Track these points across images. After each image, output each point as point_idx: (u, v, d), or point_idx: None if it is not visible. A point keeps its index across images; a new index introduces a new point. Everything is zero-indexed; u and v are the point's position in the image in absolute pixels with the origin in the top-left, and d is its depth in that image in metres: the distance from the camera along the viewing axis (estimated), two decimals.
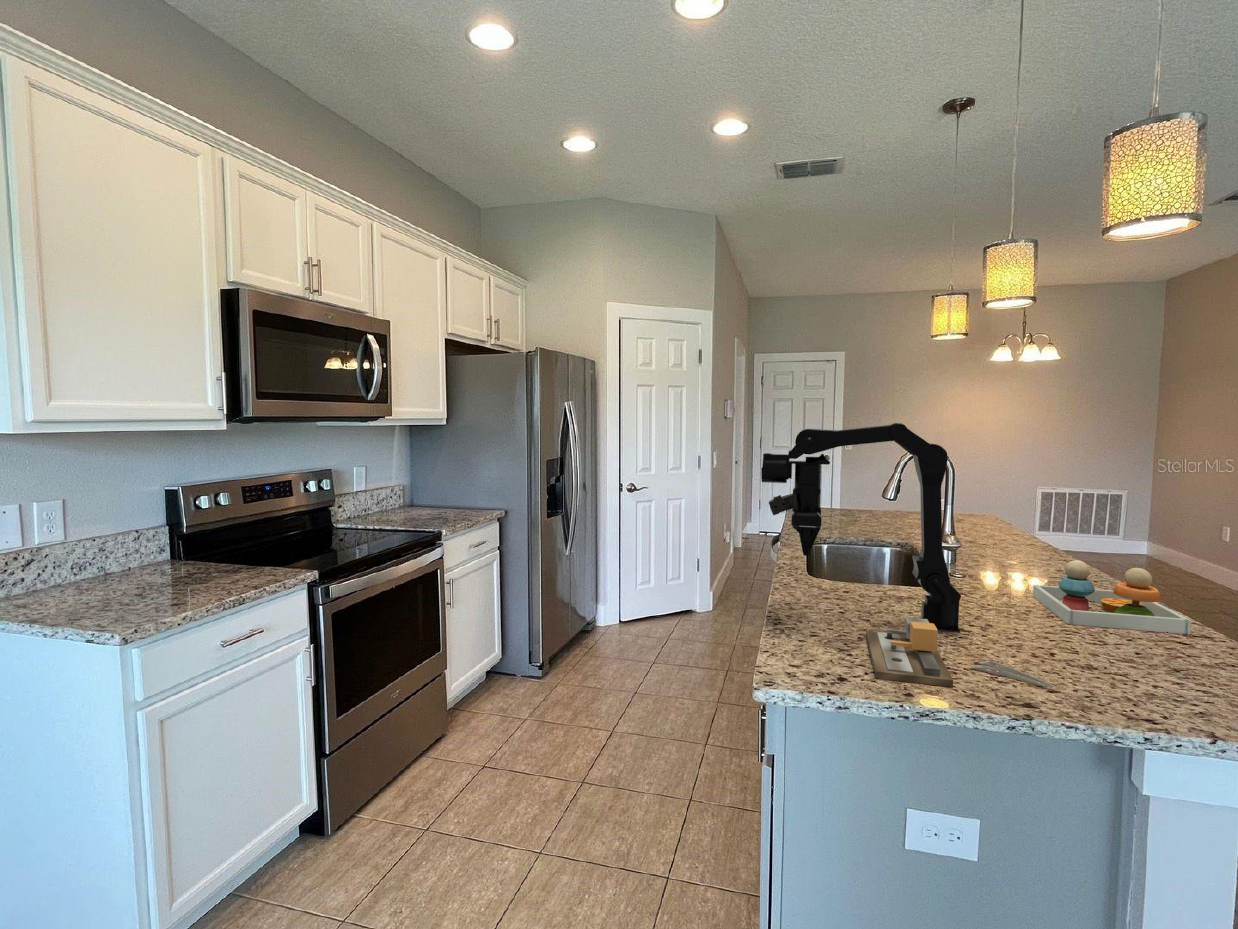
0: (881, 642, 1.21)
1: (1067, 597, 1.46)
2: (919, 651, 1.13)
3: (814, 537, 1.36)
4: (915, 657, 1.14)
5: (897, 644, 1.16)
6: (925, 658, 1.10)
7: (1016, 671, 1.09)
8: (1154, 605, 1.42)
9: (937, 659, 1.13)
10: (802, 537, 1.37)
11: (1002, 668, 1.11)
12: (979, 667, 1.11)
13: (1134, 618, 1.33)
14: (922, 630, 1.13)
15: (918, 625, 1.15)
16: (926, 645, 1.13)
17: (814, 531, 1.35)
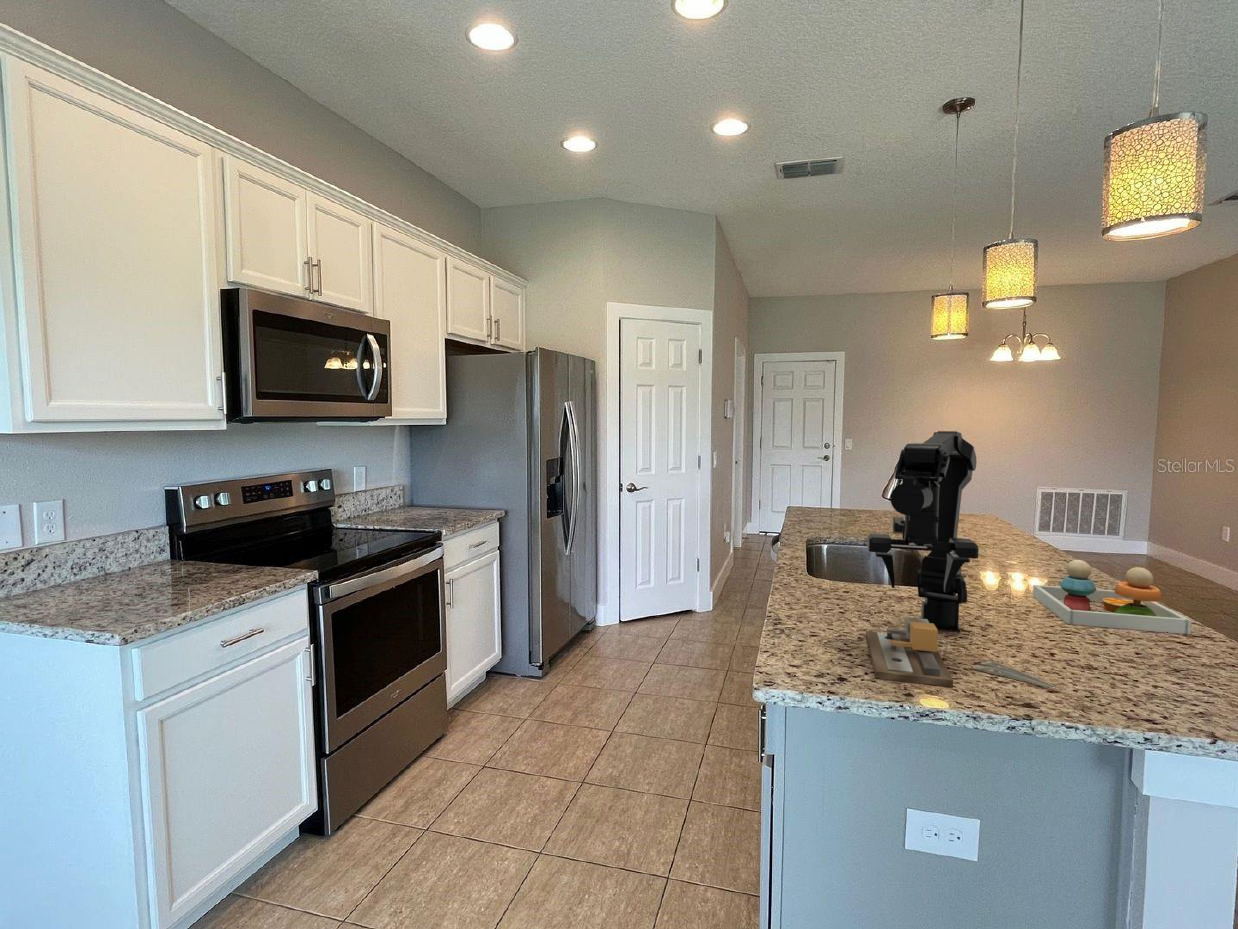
0: (881, 642, 1.21)
1: (1068, 596, 1.46)
2: (919, 651, 1.13)
3: None
4: (915, 657, 1.14)
5: (897, 644, 1.16)
6: (925, 658, 1.10)
7: (1019, 672, 1.09)
8: (1154, 605, 1.42)
9: (937, 659, 1.13)
10: None
11: (1004, 669, 1.10)
12: (981, 668, 1.10)
13: (1134, 618, 1.33)
14: (922, 630, 1.13)
15: (918, 625, 1.15)
16: (926, 645, 1.13)
17: None
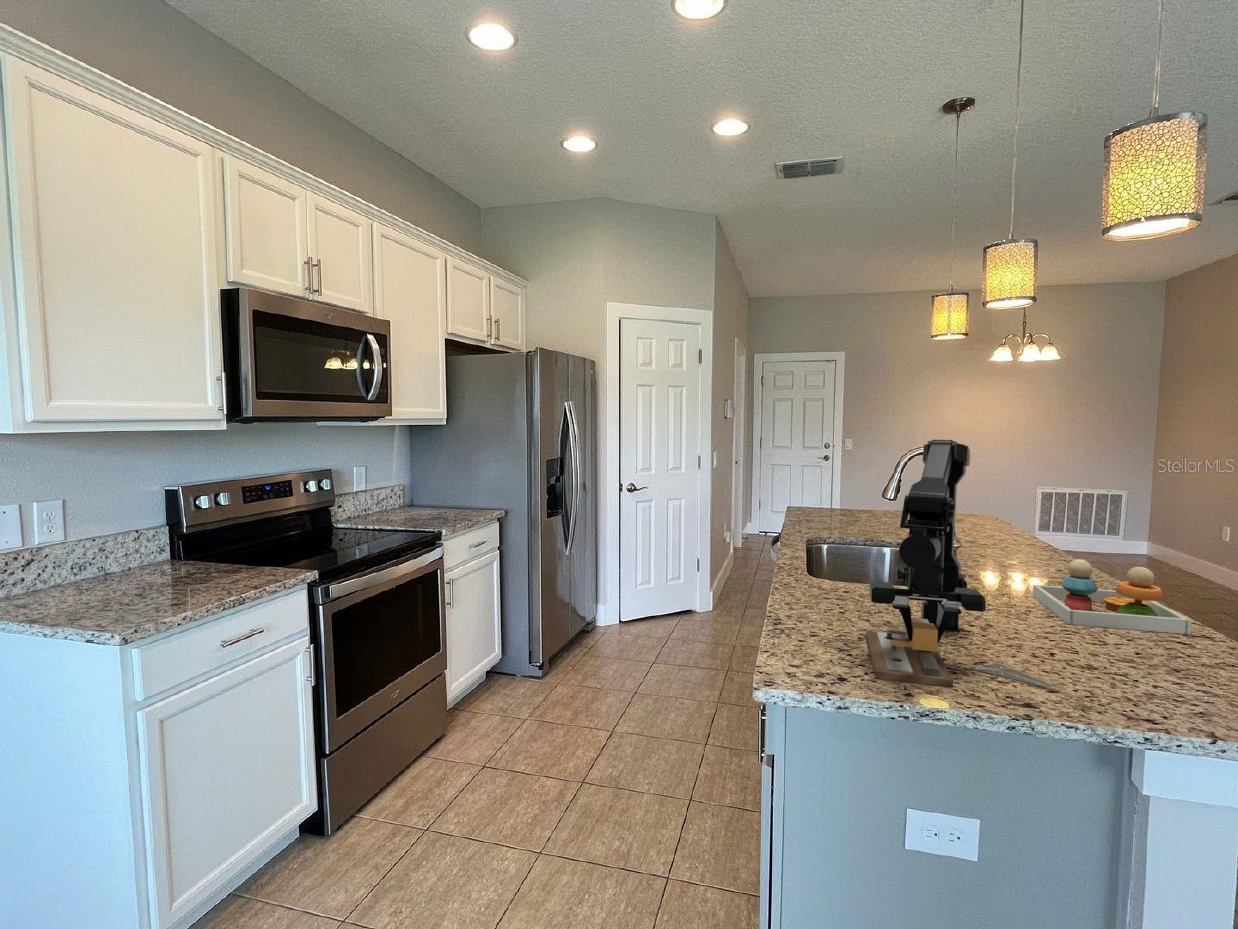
0: (881, 642, 1.21)
1: (1070, 595, 1.47)
2: (919, 651, 1.13)
3: (903, 619, 1.14)
4: (915, 657, 1.14)
5: (897, 644, 1.16)
6: (925, 658, 1.10)
7: (1021, 673, 1.08)
8: (1154, 605, 1.42)
9: (937, 659, 1.13)
10: (902, 616, 1.16)
11: (1007, 670, 1.10)
12: (983, 669, 1.10)
13: (1134, 618, 1.33)
14: (922, 630, 1.13)
15: (918, 625, 1.15)
16: (926, 645, 1.13)
17: None
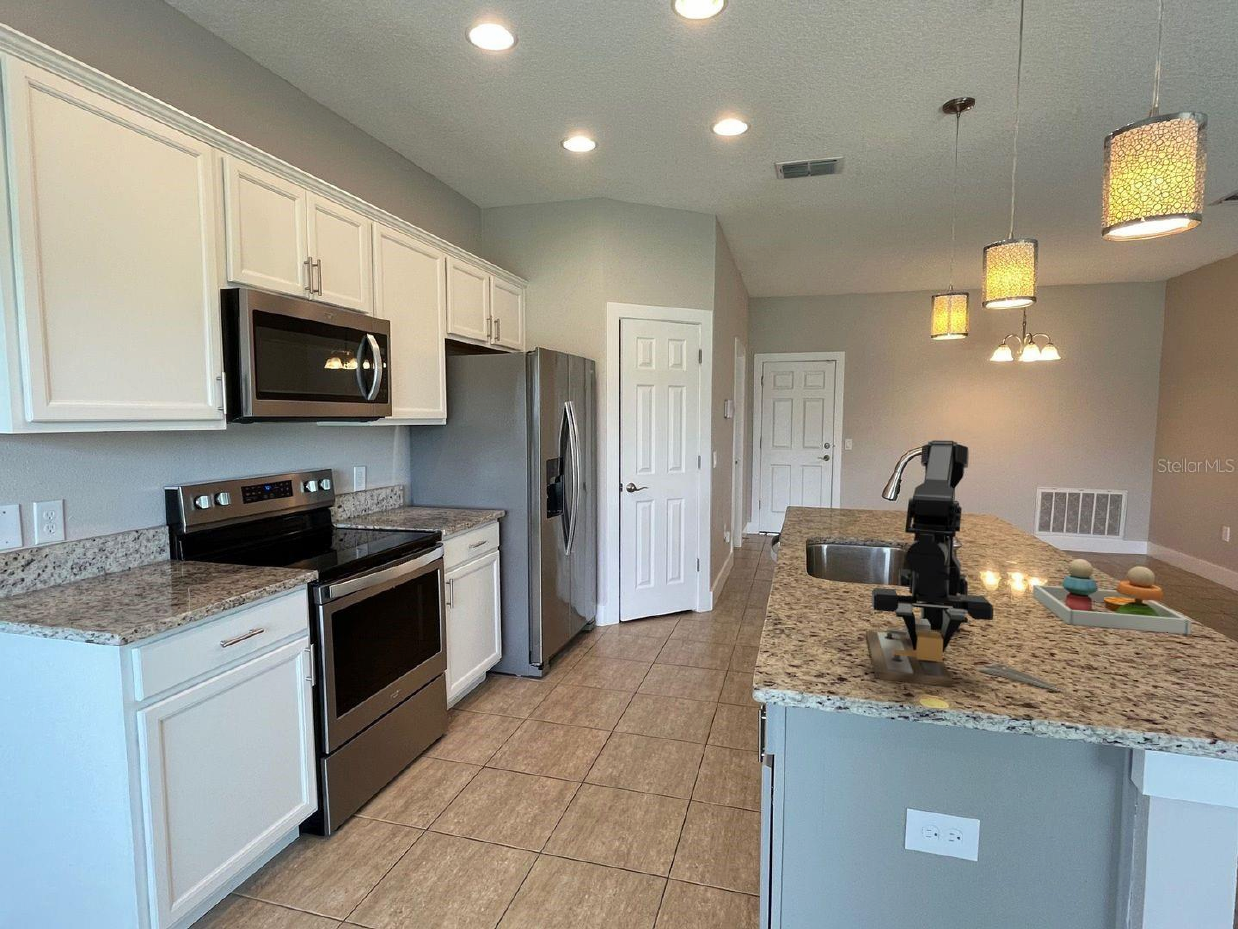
0: (881, 642, 1.21)
1: (1070, 595, 1.47)
2: None
3: (907, 627, 1.09)
4: (915, 657, 1.14)
5: (900, 653, 1.11)
6: None
7: (1024, 674, 1.08)
8: (1154, 605, 1.42)
9: None
10: None
11: (1010, 671, 1.09)
12: (986, 670, 1.09)
13: (1134, 618, 1.33)
14: (927, 639, 1.08)
15: (923, 633, 1.10)
16: (931, 654, 1.08)
17: None
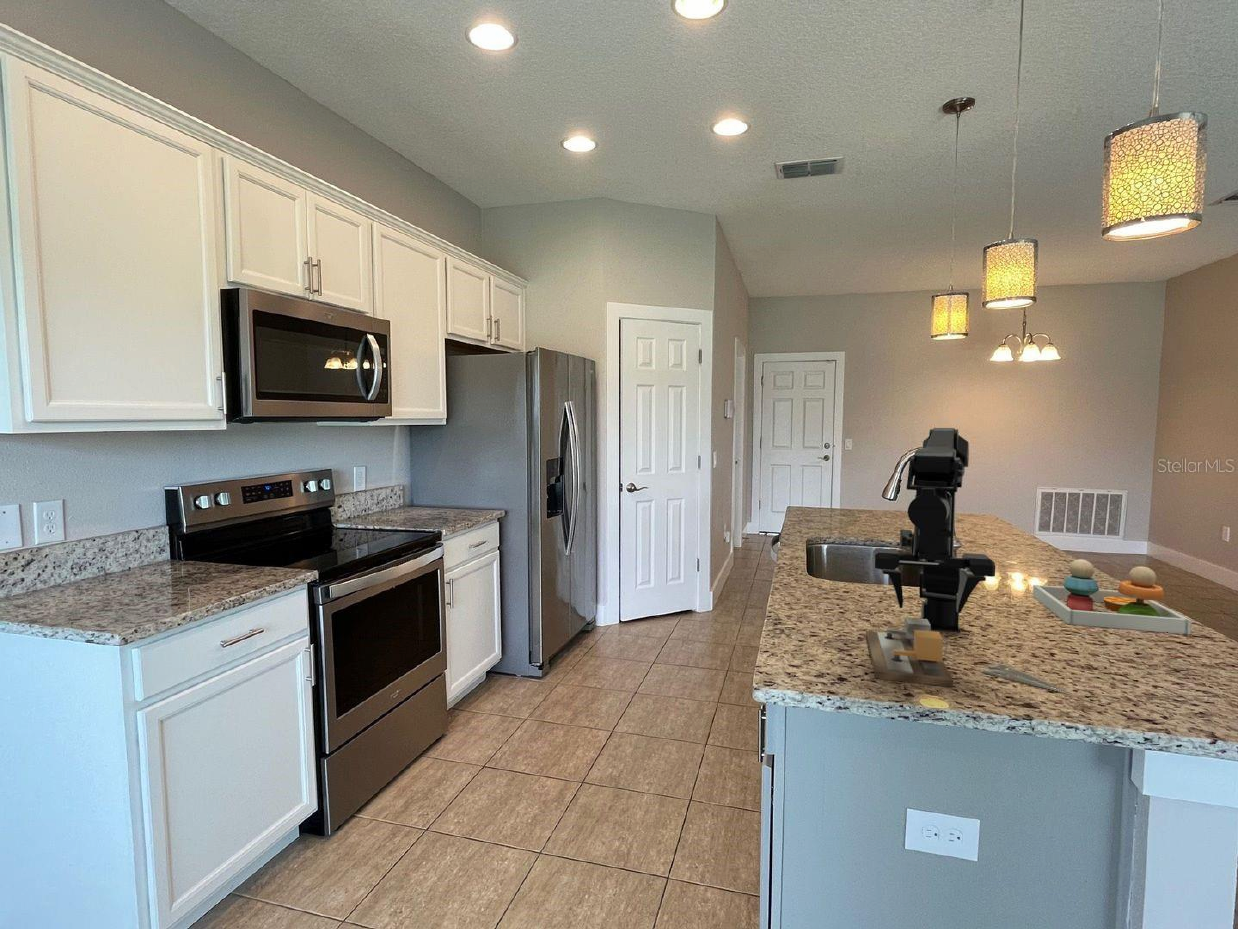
0: (881, 642, 1.21)
1: (1071, 596, 1.47)
2: None
3: (893, 584, 1.09)
4: (915, 657, 1.14)
5: (900, 653, 1.11)
6: None
7: (1027, 675, 1.07)
8: (1154, 605, 1.42)
9: None
10: None
11: (1012, 672, 1.09)
12: (989, 671, 1.09)
13: (1134, 618, 1.33)
14: (927, 639, 1.08)
15: (923, 633, 1.10)
16: (931, 654, 1.08)
17: None
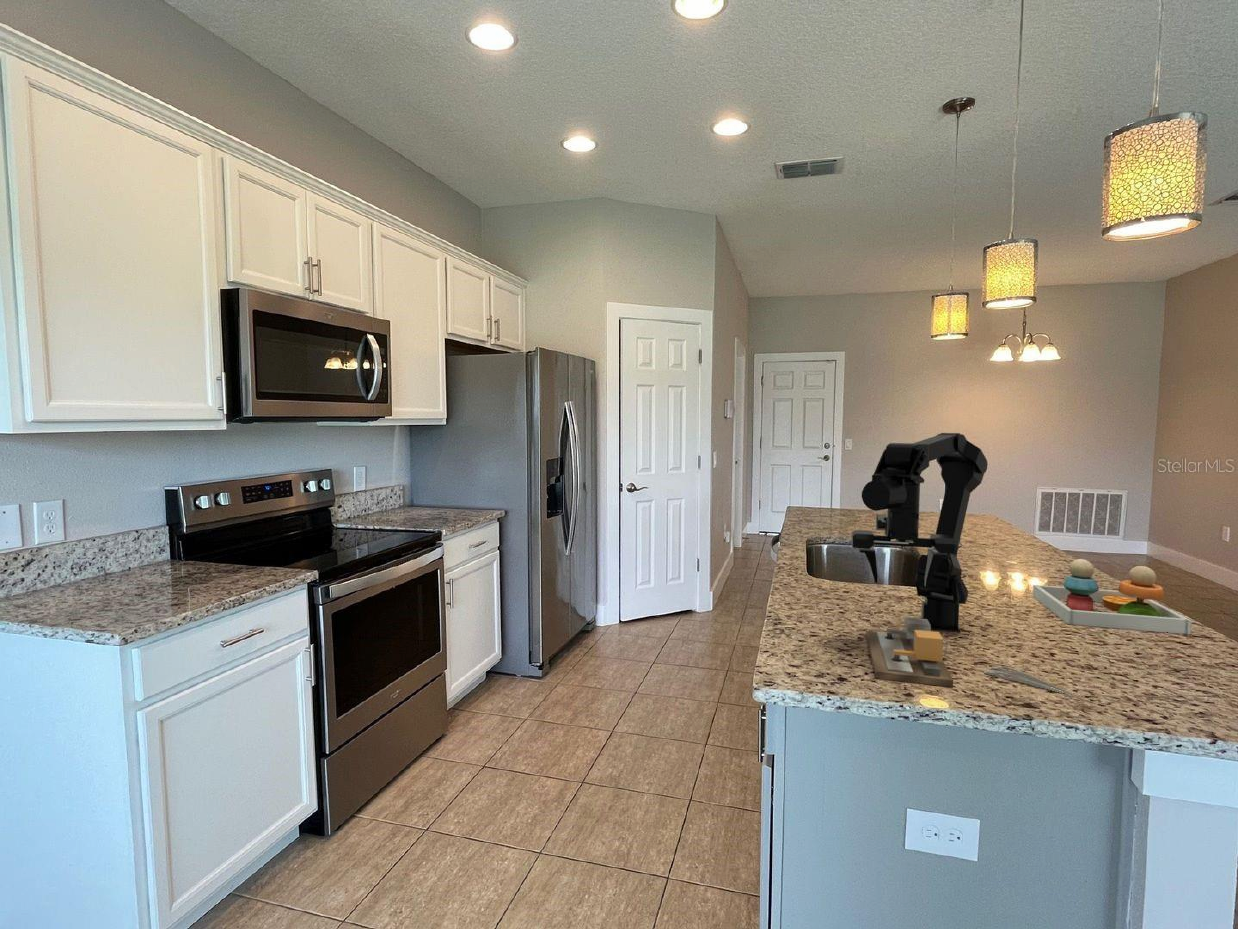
0: (881, 642, 1.21)
1: (1071, 595, 1.47)
2: None
3: None
4: (915, 657, 1.14)
5: (900, 653, 1.11)
6: None
7: (1030, 677, 1.06)
8: (1154, 605, 1.42)
9: None
10: None
11: (1016, 673, 1.08)
12: (992, 672, 1.08)
13: (1134, 618, 1.33)
14: (927, 639, 1.08)
15: (923, 633, 1.10)
16: (931, 654, 1.08)
17: None
